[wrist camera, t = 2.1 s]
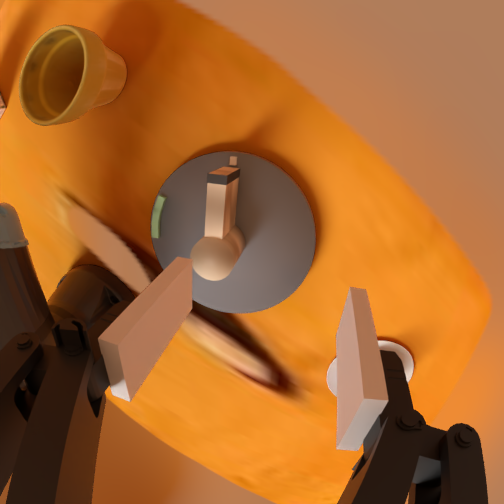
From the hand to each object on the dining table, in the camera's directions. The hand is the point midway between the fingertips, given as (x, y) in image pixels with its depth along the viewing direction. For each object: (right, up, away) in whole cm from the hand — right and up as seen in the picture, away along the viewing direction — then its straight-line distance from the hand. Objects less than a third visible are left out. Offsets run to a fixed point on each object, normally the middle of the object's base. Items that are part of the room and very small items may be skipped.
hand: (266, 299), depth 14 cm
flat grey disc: (-3, +4, +20) cm, 21 cm away
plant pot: (-18, +22, +16) cm, 33 cm away
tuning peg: (-3, +6, +17) cm, 18 cm away
